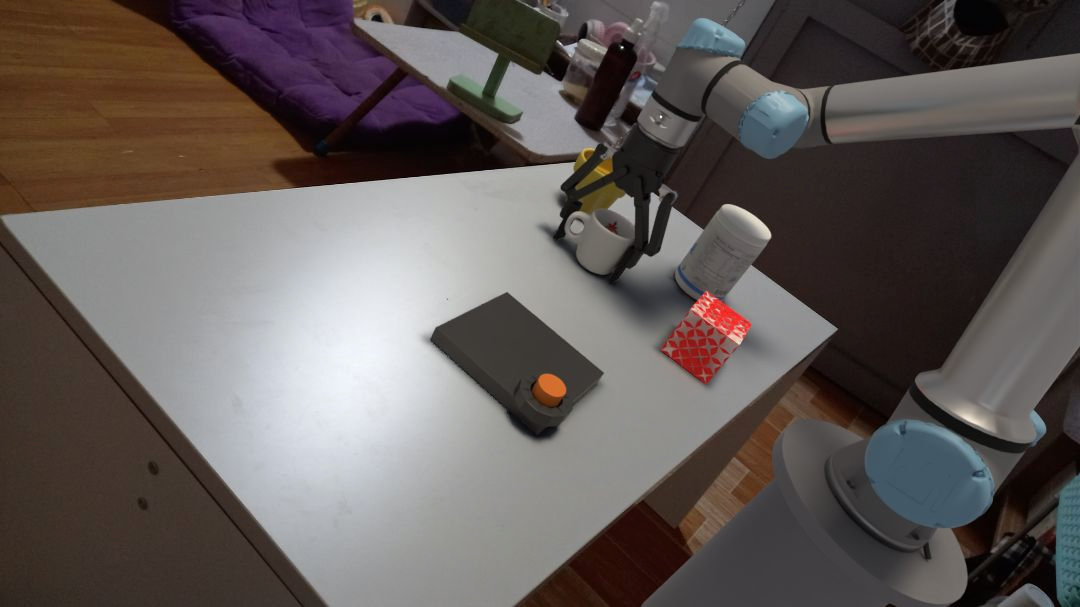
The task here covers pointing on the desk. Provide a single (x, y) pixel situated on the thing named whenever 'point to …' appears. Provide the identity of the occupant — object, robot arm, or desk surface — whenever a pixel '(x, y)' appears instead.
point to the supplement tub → (722, 253)
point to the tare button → (549, 390)
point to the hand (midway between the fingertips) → (585, 258)
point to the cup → (601, 239)
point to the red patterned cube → (706, 337)
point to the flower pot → (602, 196)
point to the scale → (516, 358)
